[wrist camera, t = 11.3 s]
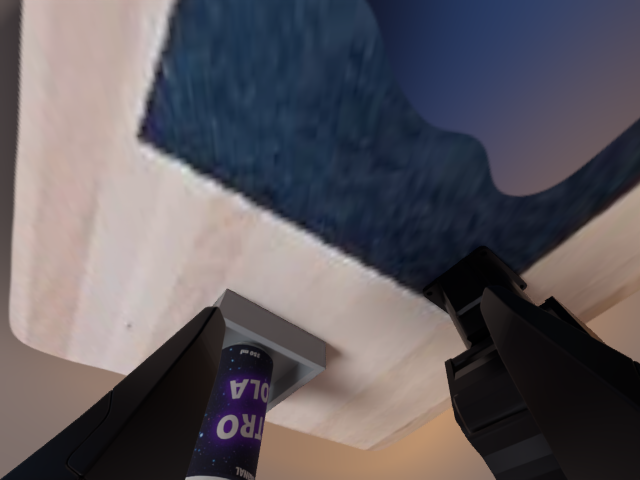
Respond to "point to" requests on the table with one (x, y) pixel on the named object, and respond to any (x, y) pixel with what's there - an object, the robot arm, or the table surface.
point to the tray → (273, 344)
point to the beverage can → (234, 416)
